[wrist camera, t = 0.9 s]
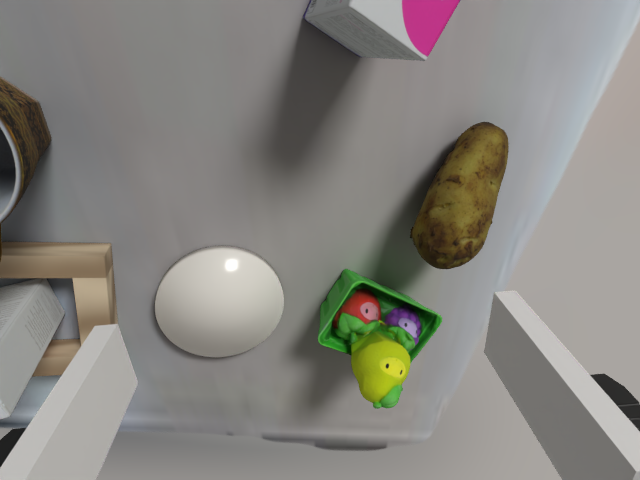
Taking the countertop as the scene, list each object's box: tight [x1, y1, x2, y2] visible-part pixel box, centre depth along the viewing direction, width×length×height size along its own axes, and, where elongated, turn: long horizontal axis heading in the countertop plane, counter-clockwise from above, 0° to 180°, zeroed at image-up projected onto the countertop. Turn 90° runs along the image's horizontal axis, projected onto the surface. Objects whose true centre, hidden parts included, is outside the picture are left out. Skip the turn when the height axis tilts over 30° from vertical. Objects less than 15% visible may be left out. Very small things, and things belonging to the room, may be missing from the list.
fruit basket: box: [318, 269, 442, 408], centre depth 40 cm, size 11×9×11 cm
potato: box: [410, 122, 508, 269], centre depth 37 cm, size 8×13×8 cm, turn 133°
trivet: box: [155, 246, 284, 357], centre depth 40 cm, size 12×12×1 cm
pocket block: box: [0, 242, 118, 376], centre depth 35 cm, size 12×15×2 cm
